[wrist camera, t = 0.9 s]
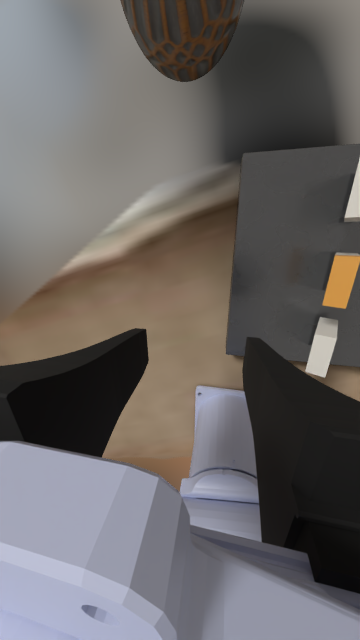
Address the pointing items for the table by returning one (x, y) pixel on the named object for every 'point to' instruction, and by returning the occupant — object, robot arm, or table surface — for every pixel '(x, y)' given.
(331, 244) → the panel
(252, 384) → the robot arm
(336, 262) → the orange-white breaker switch
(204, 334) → the table surface
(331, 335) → the small grey block
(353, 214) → the white block
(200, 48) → the vase
